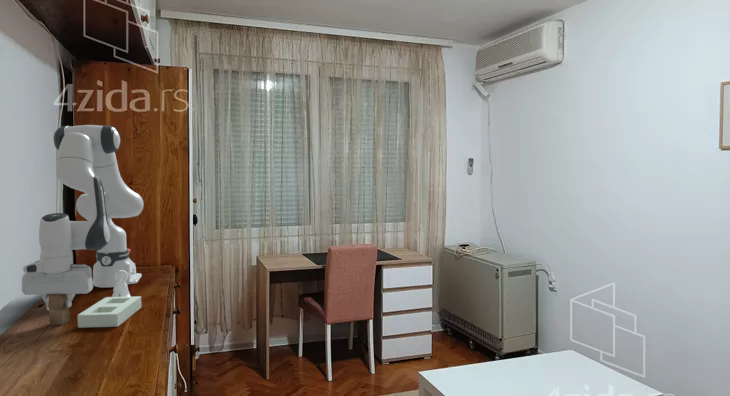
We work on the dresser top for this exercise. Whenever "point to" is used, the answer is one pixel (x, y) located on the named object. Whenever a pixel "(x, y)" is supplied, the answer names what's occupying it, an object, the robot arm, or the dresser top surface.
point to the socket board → (109, 312)
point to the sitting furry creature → (121, 284)
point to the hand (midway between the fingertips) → (59, 307)
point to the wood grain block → (58, 309)
